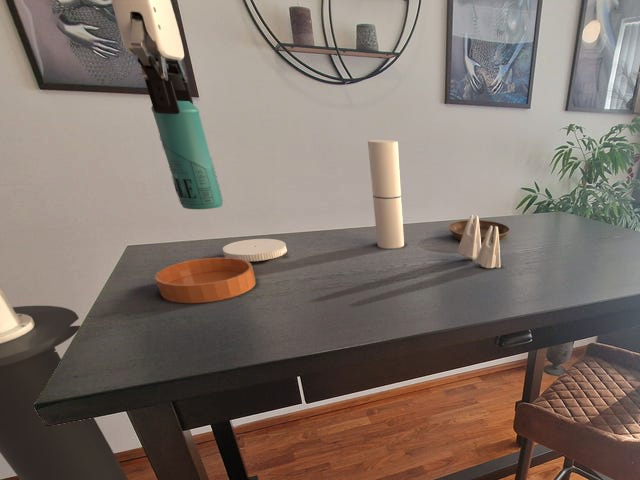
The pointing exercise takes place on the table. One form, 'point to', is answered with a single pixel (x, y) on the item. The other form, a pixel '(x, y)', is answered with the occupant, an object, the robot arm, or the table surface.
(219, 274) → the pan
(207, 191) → the beverage bottle
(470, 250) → the shaker set
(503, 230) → the plant saucer
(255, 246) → the plastic lid
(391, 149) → the cylindrical container
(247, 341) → the table surface
